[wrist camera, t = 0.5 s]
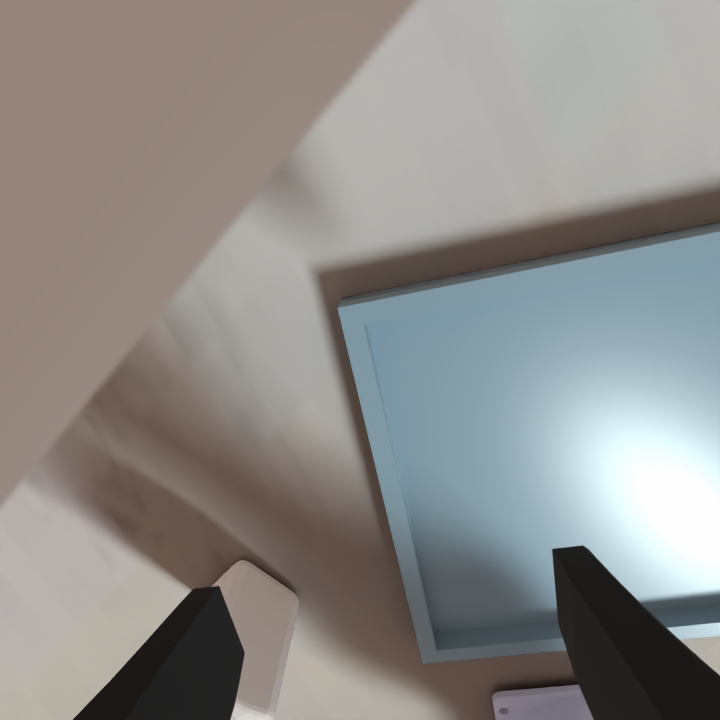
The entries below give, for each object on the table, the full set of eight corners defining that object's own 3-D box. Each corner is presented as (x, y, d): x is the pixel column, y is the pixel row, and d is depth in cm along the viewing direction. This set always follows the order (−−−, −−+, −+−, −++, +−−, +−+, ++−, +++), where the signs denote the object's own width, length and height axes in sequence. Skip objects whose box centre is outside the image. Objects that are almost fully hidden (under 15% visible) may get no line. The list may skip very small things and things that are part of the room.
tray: (805, 596, 22) (834, 624, 20) (420, 636, 24) (422, 664, 23) (857, 193, 16) (903, 194, 14) (341, 298, 18) (337, 308, 17)
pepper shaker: (306, 594, 24) (255, 840, 15) (259, 635, 25) (186, 886, 16) (242, 550, 23) (147, 781, 14) (197, 595, 24) (84, 834, 15)
